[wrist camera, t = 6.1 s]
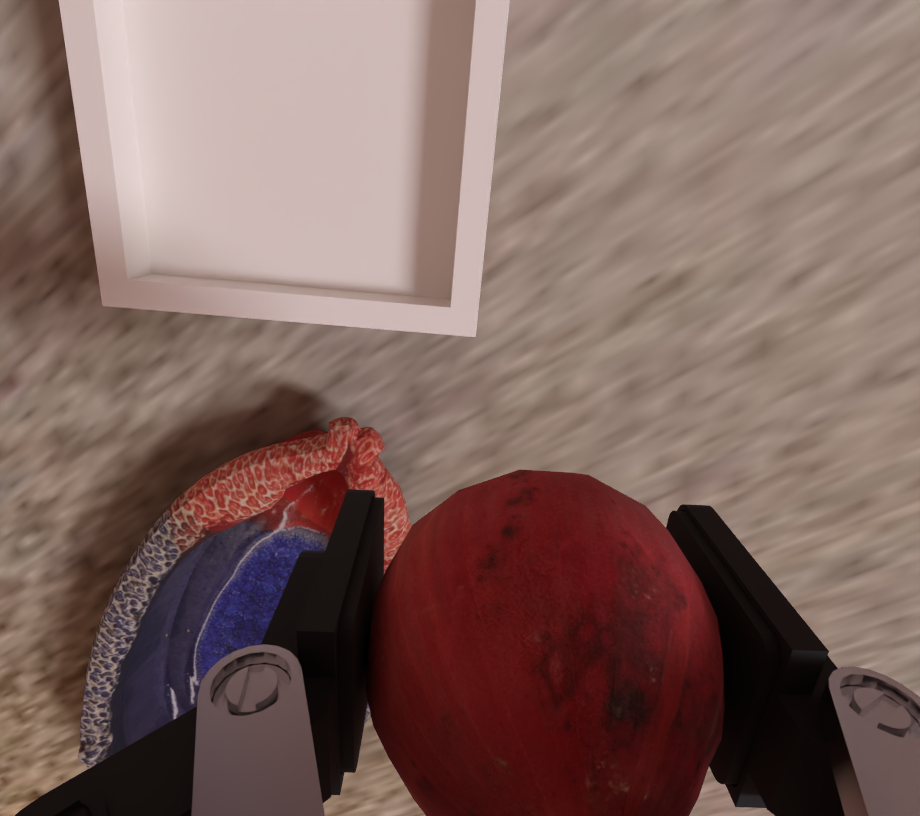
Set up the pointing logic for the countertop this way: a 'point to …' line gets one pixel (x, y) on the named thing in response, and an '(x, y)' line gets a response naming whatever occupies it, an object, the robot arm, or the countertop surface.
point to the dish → (221, 575)
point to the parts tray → (290, 155)
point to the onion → (545, 656)
